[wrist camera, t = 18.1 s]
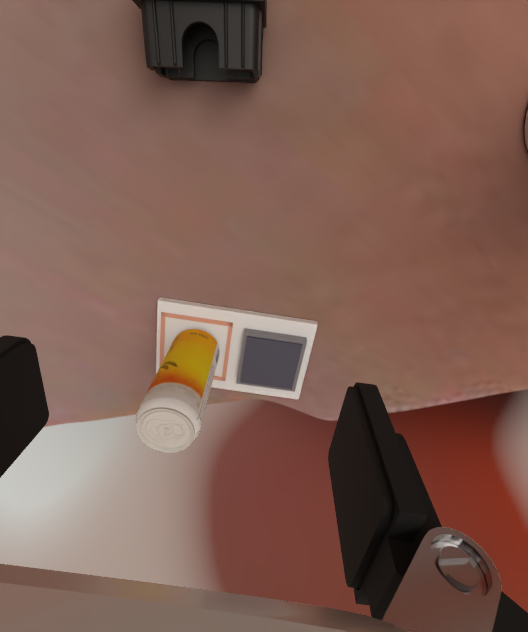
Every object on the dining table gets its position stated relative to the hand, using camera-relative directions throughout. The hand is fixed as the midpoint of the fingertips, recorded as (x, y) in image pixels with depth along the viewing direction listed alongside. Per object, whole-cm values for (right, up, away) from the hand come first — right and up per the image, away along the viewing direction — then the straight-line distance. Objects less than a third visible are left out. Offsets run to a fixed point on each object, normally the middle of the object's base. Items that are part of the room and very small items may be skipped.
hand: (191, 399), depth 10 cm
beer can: (-6, -1, +34) cm, 35 cm away
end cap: (-3, +28, +21) cm, 36 cm away
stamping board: (-2, -2, +35) cm, 36 cm away
